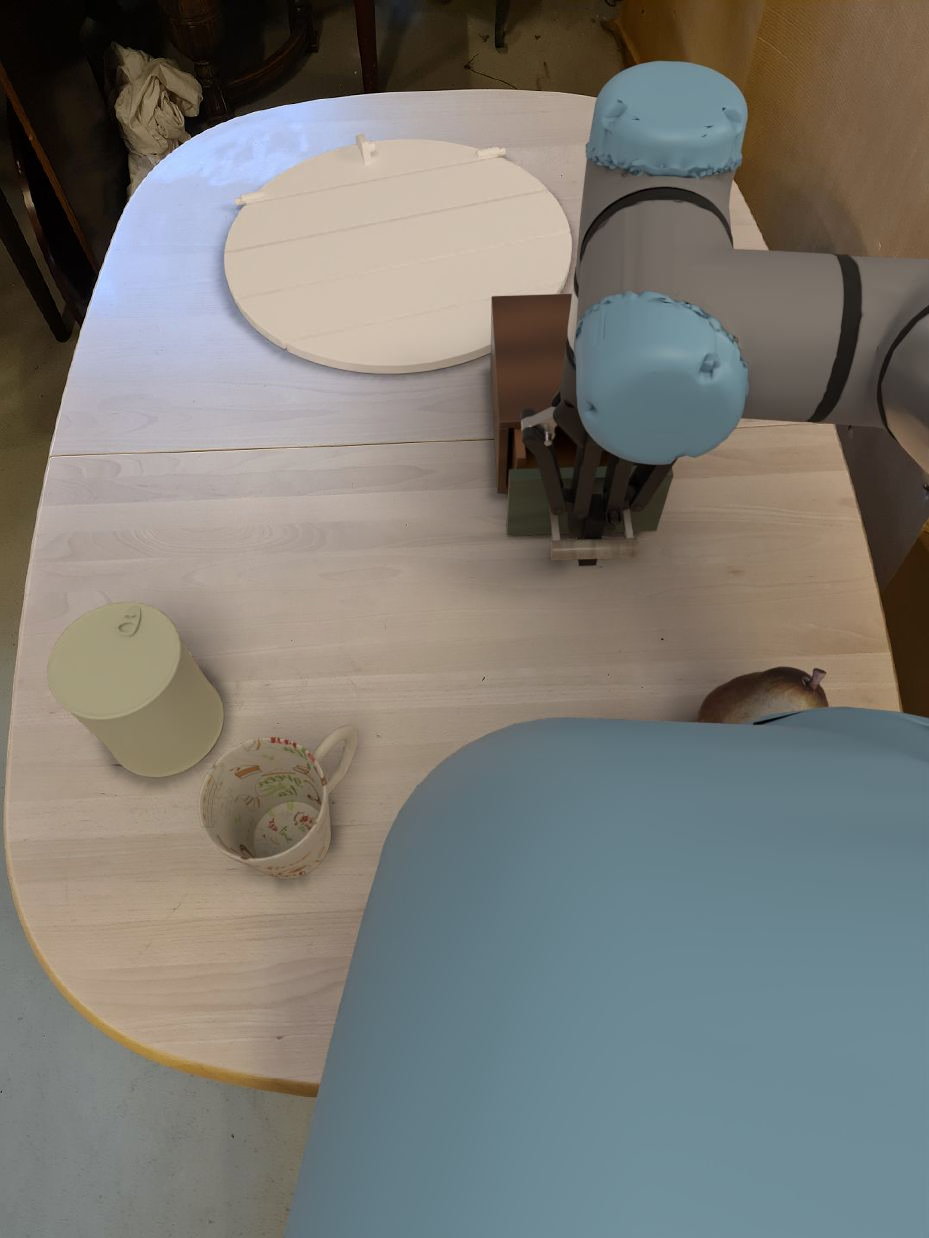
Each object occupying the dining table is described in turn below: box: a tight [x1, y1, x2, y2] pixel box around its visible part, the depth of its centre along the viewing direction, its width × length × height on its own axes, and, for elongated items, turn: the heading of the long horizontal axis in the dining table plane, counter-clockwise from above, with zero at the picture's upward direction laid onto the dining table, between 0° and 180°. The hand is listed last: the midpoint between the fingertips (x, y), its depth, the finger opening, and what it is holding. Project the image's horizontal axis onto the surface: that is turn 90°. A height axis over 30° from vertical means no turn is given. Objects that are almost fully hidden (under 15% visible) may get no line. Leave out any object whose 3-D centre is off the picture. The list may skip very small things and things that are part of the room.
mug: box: [197, 724, 359, 880], centre depth 61 cm, size 8×13×10 cm, turn 145°
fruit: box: [695, 665, 830, 724], centre depth 61 cm, size 10×9×12 cm
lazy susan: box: [223, 133, 573, 375], centre depth 96 cm, size 40×39×3 cm
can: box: [46, 601, 225, 778], centre depth 64 cm, size 9×9×12 cm
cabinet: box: [489, 293, 572, 494], centre depth 80 cm, size 16×15×10 cm
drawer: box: [506, 426, 674, 561], centre depth 75 cm, size 20×13×8 cm, turn 2°
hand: (585, 552), depth 74 cm, fingers closed
